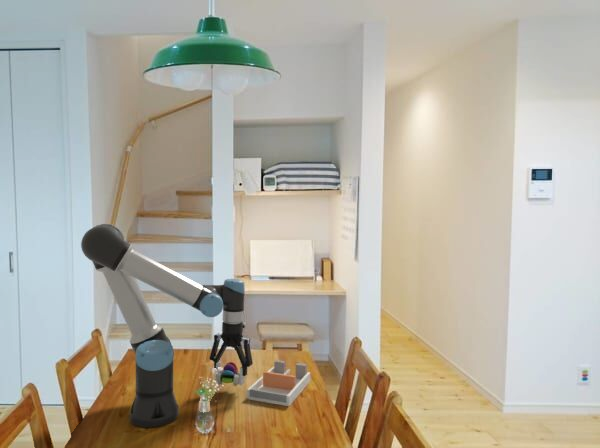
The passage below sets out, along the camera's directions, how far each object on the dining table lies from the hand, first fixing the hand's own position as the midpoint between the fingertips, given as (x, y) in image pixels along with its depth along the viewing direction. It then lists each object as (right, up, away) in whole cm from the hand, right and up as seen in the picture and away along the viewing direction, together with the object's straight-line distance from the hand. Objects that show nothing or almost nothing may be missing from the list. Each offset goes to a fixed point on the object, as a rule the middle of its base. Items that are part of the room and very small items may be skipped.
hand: (229, 381), depth 170 cm
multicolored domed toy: (0, 0, 0) cm, 1 cm away
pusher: (+20, -2, +6) cm, 21 cm away
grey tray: (+18, -4, +3) cm, 19 cm away
